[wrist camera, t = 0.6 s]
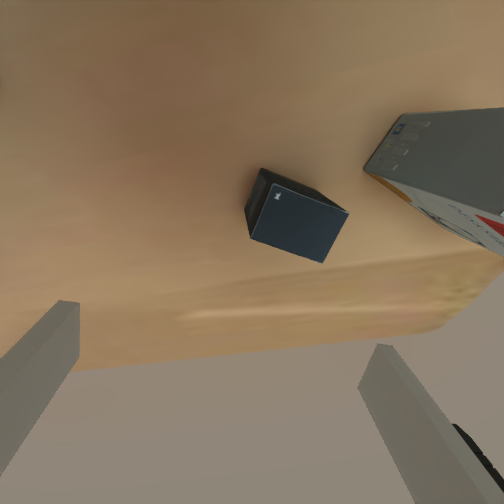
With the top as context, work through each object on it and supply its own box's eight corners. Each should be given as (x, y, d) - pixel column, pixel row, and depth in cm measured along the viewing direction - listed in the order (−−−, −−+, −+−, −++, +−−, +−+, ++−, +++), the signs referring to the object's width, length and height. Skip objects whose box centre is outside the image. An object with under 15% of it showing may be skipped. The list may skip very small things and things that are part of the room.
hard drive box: (359, 170, 36) (496, 212, 18) (402, 111, 34) (609, 88, 15) (446, 232, 40) (632, 318, 22) (489, 183, 38) (736, 232, 19)
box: (243, 210, 37) (248, 239, 27) (260, 166, 35) (273, 180, 25) (299, 231, 38) (323, 266, 29) (319, 190, 37) (351, 212, 27)
